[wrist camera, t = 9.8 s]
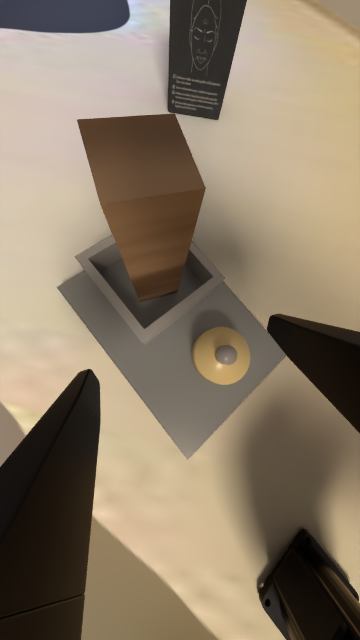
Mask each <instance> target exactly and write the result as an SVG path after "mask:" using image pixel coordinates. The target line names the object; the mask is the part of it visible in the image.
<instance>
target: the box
mask: <svg viewBox="0 0 360 640" xmlns="http://www.w3.org/2000/svg"><path fill="white" fill-rule="evenodd" d="M246 2H247V0H170V35H169V82H168V111H169V112H174V113H181V114H188V115H194V116H200V117H207V118H213V119H219V115H220V111H221V107H222V103H223V99H224V94H225V90H226V86H227V82H228V78H229V73H230V69H231V65H232V61H233V56H234V52H235V48H236V44H237V40H238V35H239V31H240V27H241V23H242V18H243V14H244V10H245V6H246Z"/></svg>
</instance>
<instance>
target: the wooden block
mask: <svg viewBox="0 0 360 640" xmlns="http://www.w3.org/2000/svg"><path fill="white" fill-rule="evenodd" d="M77 122H78V125H79V129H80V132H81V136H82V140H83V143H84V147H85V150H86V154H87V158H88V161H89V165H90V168H91V172H92V176H93V179H94V183H95V186H96V190H97V194H98V197H99V201H100V204H101V207H102V209H103V212H104V214H105V217H106V219H107V222H108V224H109V227H110V229H111V232H112V234H113V237H114V239H115V242H116V244H117V246H118V249H119V251H120V254H121V256H122V259H123V261H124V264H125V266H126V269H127V271H128V274H129V276H130V279H131V281H132V284H133V286H134V289H135V291H136V294H137V296H138V299H139V301H140V302H144V301H147V300H151V299H155V298H159V297H162V296H166V295H170V294H174V293H177V292H178V288H179V285H180V281H181V277H182V273H183V270H184V266H185V262H186V259H187V255H188V251H189V248H190V244H191V240H192V237H193V233H194V229H195V225H196V222H197V218H198V214H199V211H200V207H201V203H202V200H203V196H204V192H205V189H206V188H205V186H204V183H203V181H202V178H201V176H200V174H199V171H198V169H197V166H196V164H195V161H194V159H193V157H192V154H191V152H190V149H189V147H188V145H187V142H186V140H185V137H184V135H183V133H182V130H181V128H180V125H179V123H178V120H177V118H176V116H175V114H161V115H144V116H128V117H111V118H95V119H79V120H77Z"/></svg>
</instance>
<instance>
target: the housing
mask: <svg viewBox="0 0 360 640" xmlns="http://www.w3.org/2000/svg"><path fill="white" fill-rule="evenodd" d="M75 258H76V259H77V261H78V262H79V263H80V264H81V266H82V267H83V268H84V270H85V271H83V272H81V273H80V274H78V275H76V276H75V277H73V278H71V279H70V280H68V281H66V282H65V283H63V284H61V285H60V286H58V287H57V288H58V290H59V291H60V292H61V294H62V295H63V296H64V297H65V299H66V300H67V301H68V303H69V304H70V305H71V307H72V308H73V309H74V311H75V312H76V313H77V315H78V316H79V317H80V319H81V320H82V321H83V323H84V324H85V325H86V327H87V328H88V329H89V330H90V332H91V333H92V334H93V336H94V337H95V338H96V340H97V341H98V342H99V344H100V345H101V346H102V348H103V349H104V350H105V352H106V353H107V354H108V356H109V357H110V358H111V360H112V361H113V362H114V363H115V365H116V366H117V367H118V369H119V370H120V371H121V373H122V374H123V375H124V377H125V378H126V379H127V381H128V382H129V383H130V385H131V386H132V387H133V389H134V390H135V391H136V393H137V394H138V395H139V396H140V398H141V399H142V400H143V402H144V403H145V404H146V406H147V407H148V408H149V410H150V411H151V412H152V414H153V415H154V416H155V418H156V419H157V420H158V422H159V423H160V424H161V426H162V427H163V428H164V430H165V431H166V432H167V433H168V435H169V436H170V437H171V439H172V440H173V441H174V443H175V444H176V445H177V447H178V448H179V449H180V451H181V452H182V453H183V455H184V456H185V457H186V459H187V460H188V459H189V458H190V457H191V456H192V455H193V454H194V453H195V452H196V451H197V450H198V449H199V448H200V447H201V446H202V444H203V443H204V442H205V441H206V440H207V439H208V438H209V437H210V436H211V435H212V434H213V433H214V432H215V431H216V430H217V429H218V427H219V426H220V425H221V424H222V423H223V422H224V421H225V420H226V419H227V418H228V417H229V416H230V415H231V414H232V413H233V412H234V411H235V409H236V408H237V407H238V406H239V405H240V404H241V403H242V402H243V401H244V400H245V399H246V398H247V397H248V396H249V395H250V394H251V393H252V391H253V390H254V389H255V388H256V387H257V386H258V385H259V384H260V383H261V382H262V381H263V380H264V379H265V378H266V377H267V376H268V374H269V373H270V372H271V371H272V370H273V369H274V368H275V367H276V366H277V365H278V364H279V363H280V362H281V361H282V360H283V359H284V358H285V356H286V354H285V353H284V352H283V351H282V349H281V348H280V347H279V346H278V344H277V343H276V342H275V340H274V339H273V338H272V337H271V336H270V335H269V333H268V332H267V331H266V330H265V329H264V328H263V327H262V326H261V324H260V323H259V322H258V321H257V320H256V319H255V318H254V316H253V315H252V314H251V313H250V312H249V311H248V310H247V308H246V307H245V306H244V305H243V304H242V303H241V302H240V301H239V299H238V298H237V297H236V296H235V295H234V294H233V293H232V291H231V290H230V289H229V288H228V287H227V286H226V285H225V283H224V282H223V280H224V279H225V278H224V277H223V275H222V274H221V273H220V272H219V271H218V270H217V269H216V268H215V266H214V265H213V264H212V263H211V262H210V261H209V260H208V258H207V257H206V256H205V255H204V254H203V253H202V252H201V251H200V249H199V248H198V247H197V246H196V245H195V244H194V243H193V241H192V240H191V244H190V248H189V251H188V255H187V259H186V262H185V266H184V270H183V273H182V277H181V281H180V285H179V288H178V292H177V293H174V294H170V295H166V296H162V297H159V298H155V299H151V300H147V301H144V302H140V301H139V299H138V296H137V294H136V291H135V289H134V286H133V284H132V281H131V279H130V276H129V274H128V271H127V269H126V266H125V264H124V261H123V259H122V256H121V254H120V251H119V249H118V246H117V244H116V242H115V239H114V237H113V235H111V236H110V237H108V238H106V239H104V240H103V241H101V242H99V243H97V244H96V245H94V246H92V247H90V248H89V249H87V250H85V251H83V252H82V253H80V254H78V255H76V256H75Z"/></svg>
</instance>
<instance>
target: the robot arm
mask: <svg viewBox="0 0 360 640" xmlns="http://www.w3.org/2000/svg"><path fill="white" fill-rule="evenodd" d="M267 331H268V333H269V334H270V335H271V337H272V338H273V339H274V340H275V342H276V343H277V344H278V346H279V347H280V348H281V349H282V351H283V352H284V353H285V354H286V355H287V357H288V358H289V359H290V360H291V361H292V362H293V363H294V364H295V365H296V366H297V367H298V368H299V369H300V370H301V371H302V373H303V374H304V375H305V376H306V377H307V378H308V379H309V380H310V381H311V382H312V383H313V384H314V385H315V386H316V387H317V388H318V389H319V391H320V392H321V393H322V394H323V395H324V396H325V397H326V398H327V399H328V400H329V401H330V402H331V403H332V404H333V405H334V406H335V408H336V409H337V410H338V411H339V412H340V413H341V414H342V415H343V416H344V417H345V418H346V419H347V420H348V421H349V422H350V423H351V424H352V426H353V427H354V428H355V429H356V430H357V431H358V432H359V433H360V332H357V331H353V330H348V329H344V328H339V327H335V326H331V325H326V324H322V323H317V322H313V321H309V320H304V319H300V318H295V317H291V316H287V315H282V314H275V315H272V316H270V318H269V322H268V326H267ZM99 433H100V384H99V381H98V379H97V377H96V376H95V374H94V373H93V371H92V370H91V369H87V370H84V371H81V372H79V373H78V374H77V375H76V377H75V378H74V379H73V380H72V381H71V383H70V384H69V385H68V386H67V387H66V389H65V390H64V391H63V392H62V393H61V395H60V396H59V397H58V398H57V399H56V401H55V402H54V403H53V404H52V405H51V407H50V408H49V409H48V410H47V411H46V413H45V414H44V415H43V416H42V417H41V419H40V420H39V421H38V422H37V423H36V425H35V426H34V427H33V428H32V429H31V431H30V432H29V433H28V434H27V435H26V437H25V438H24V439H23V440H22V442H21V443H20V444H19V445H18V446H17V448H16V449H15V450H14V451H13V452H12V454H11V455H10V456H9V457H8V458H7V460H6V461H5V462H4V463H3V464H2V466H1V467H0V640H81V633H82V622H83V609H84V600H85V595H84V593H85V587H86V575H87V565H88V554H89V542H90V531H91V521H92V510H93V499H94V488H95V477H96V466H97V455H98V444H99ZM259 599H260V601H261V604H262V606H263V608H264V610H265V611H266V613H267V614H268V615H269V617H270V618H271V620H272V621H273V622H274V624H275V625H276V626H277V628H278V629H279V630H280V632H281V633H282V634H283V636H284V637H285V639H286V640H360V603H359V602H358V601H359V596H358V594H357V592H356V591H355V589H354V588H353V587H352V586H351V584H350V583H349V582H348V581H347V579H346V578H345V577H344V576H343V574H342V573H341V572H340V571H339V569H338V568H337V567H336V566H335V564H334V563H333V562H332V561H331V559H330V558H329V557H328V556H327V554H326V553H325V552H324V551H323V549H322V548H321V547H320V546H319V544H318V543H317V542H316V541H315V539H314V538H313V537H312V536H311V534H310V533H309V532H308V531H307V530H306V529H301V530H300V532H299V533H298V535H297V536H296V538H295V539H294V541H293V542H292V544H291V545H290V547H289V548H288V550H287V551H286V553H285V554H284V556H283V557H282V559H281V560H280V562H279V563H278V565H277V566H276V568H275V569H274V571H273V572H272V574H271V575H270V577H269V578H268V580H267V581H266V583H265V584H264V586H263V587H262V589H261V590H260V592H259Z"/></svg>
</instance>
